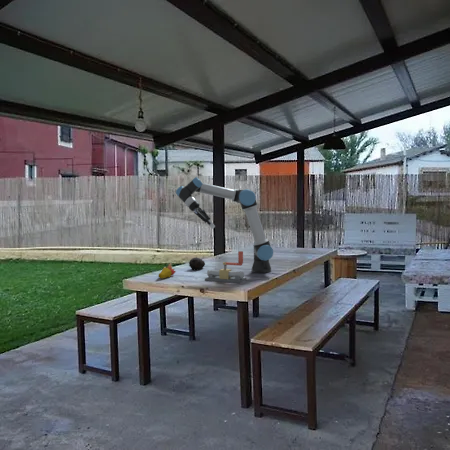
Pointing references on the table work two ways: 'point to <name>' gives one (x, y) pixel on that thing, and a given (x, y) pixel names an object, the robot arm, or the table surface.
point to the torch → (167, 272)
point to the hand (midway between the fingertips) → (213, 227)
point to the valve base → (225, 275)
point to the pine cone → (196, 264)
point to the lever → (240, 260)
